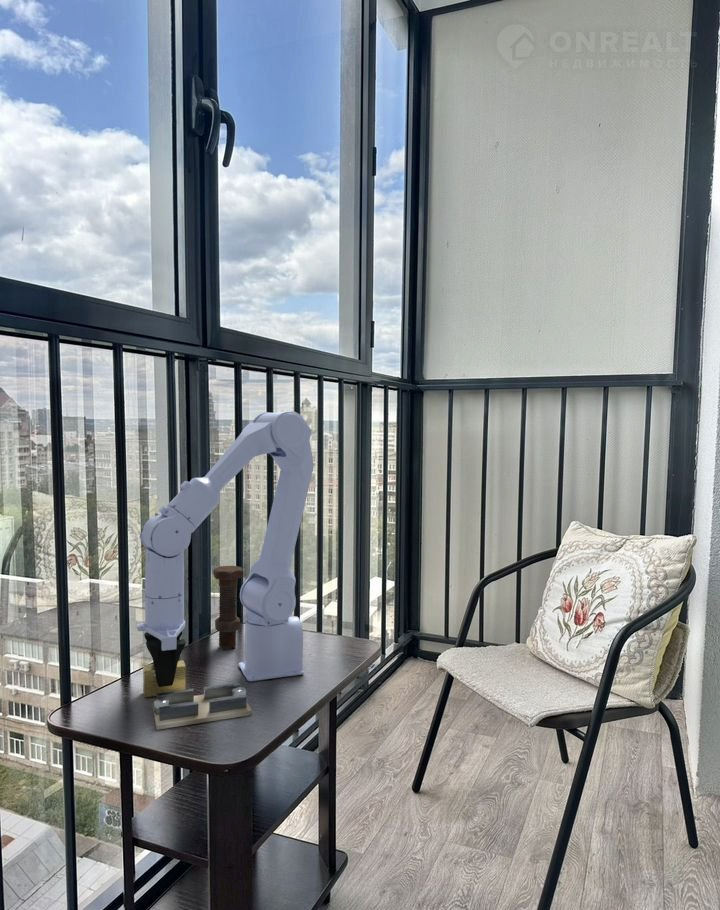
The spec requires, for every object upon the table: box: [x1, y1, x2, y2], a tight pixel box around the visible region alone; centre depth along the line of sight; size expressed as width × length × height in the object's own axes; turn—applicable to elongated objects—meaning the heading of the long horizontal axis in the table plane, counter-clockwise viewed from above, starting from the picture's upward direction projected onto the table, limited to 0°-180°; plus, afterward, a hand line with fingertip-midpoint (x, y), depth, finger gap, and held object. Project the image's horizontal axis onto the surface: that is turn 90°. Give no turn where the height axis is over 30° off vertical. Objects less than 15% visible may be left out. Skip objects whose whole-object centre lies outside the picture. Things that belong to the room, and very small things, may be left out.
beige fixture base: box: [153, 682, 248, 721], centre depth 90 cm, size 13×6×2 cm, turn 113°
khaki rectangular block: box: [142, 659, 186, 698], centre depth 96 cm, size 6×3×4 cm, turn 113°
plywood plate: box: [151, 694, 253, 730], centre depth 90 cm, size 13×8×1 cm, turn 112°
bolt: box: [213, 565, 244, 651], centre depth 117 cm, size 6×5×15 cm
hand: (164, 681), depth 96 cm, fingers closed on khaki rectangular block, 3 cm apart
